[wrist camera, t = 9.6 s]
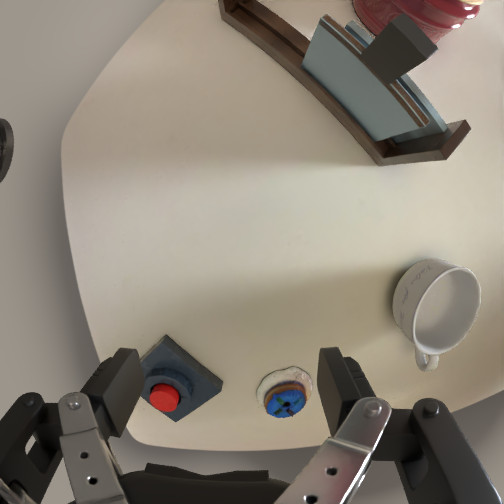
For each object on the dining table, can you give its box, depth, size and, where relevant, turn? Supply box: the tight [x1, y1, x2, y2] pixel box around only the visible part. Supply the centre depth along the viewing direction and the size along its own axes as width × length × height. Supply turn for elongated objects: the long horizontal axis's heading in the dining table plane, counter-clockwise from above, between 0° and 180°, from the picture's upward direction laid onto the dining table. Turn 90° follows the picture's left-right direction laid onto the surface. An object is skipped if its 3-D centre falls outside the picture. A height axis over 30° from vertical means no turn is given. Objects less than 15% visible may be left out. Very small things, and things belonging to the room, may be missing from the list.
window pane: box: [301, 13, 438, 142], centre depth 19 cm, size 12×2×17 cm, turn 45°
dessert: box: [257, 367, 313, 418], centre depth 36 cm, size 8×7×6 cm
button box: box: [140, 335, 223, 422], centre depth 35 cm, size 10×10×4 cm
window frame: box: [218, 0, 471, 166], centre depth 22 cm, size 26×4×14 cm, turn 45°
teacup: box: [393, 259, 481, 372], centre depth 31 cm, size 14×11×8 cm
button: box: [149, 383, 180, 412], centre depth 33 cm, size 4×4×2 cm
